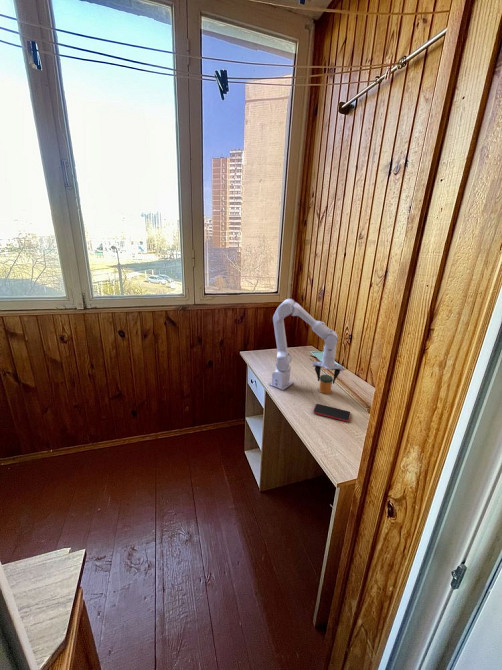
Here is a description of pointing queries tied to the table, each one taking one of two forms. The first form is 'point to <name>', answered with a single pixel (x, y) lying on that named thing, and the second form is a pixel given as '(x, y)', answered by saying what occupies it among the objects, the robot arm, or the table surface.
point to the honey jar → (325, 387)
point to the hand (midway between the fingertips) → (326, 381)
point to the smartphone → (332, 412)
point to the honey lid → (326, 378)
